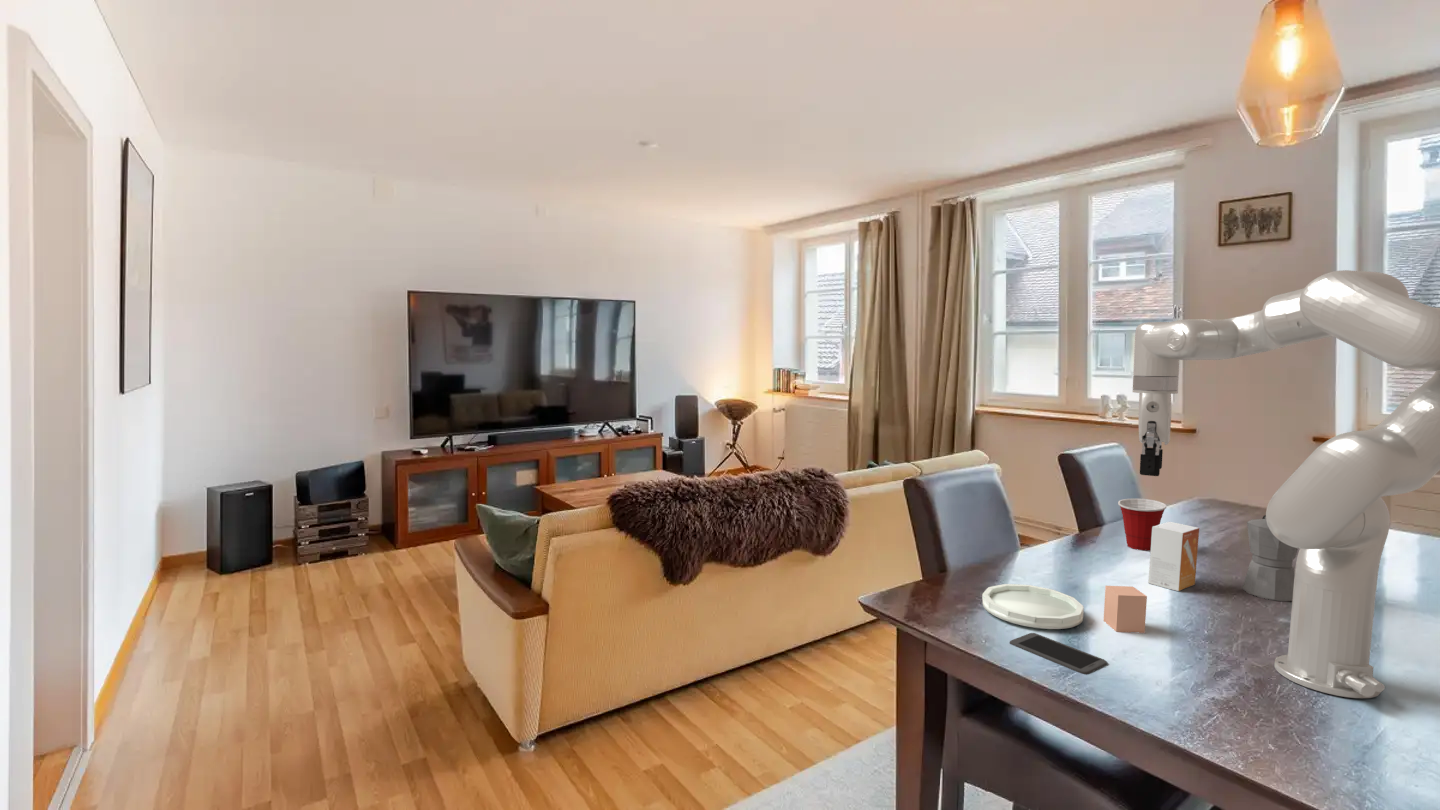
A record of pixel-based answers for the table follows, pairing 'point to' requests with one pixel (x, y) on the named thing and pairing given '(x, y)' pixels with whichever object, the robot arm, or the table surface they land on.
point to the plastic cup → (1140, 521)
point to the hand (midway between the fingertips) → (1150, 471)
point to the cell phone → (1059, 653)
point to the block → (1125, 609)
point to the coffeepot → (1269, 564)
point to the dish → (1033, 606)
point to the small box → (1173, 555)
